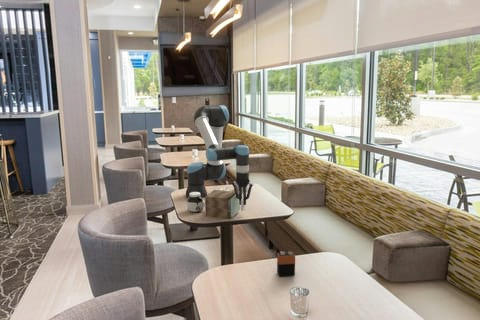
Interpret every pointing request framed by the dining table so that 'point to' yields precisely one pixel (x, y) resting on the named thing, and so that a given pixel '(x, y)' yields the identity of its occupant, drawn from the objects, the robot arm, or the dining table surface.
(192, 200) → the spread jar
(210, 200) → the box
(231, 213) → the pale green angular block
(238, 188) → the teacup with lid
